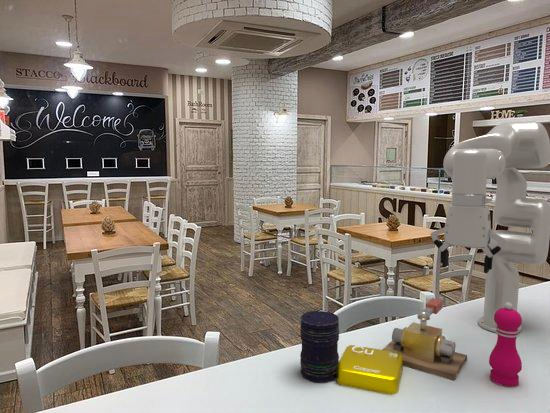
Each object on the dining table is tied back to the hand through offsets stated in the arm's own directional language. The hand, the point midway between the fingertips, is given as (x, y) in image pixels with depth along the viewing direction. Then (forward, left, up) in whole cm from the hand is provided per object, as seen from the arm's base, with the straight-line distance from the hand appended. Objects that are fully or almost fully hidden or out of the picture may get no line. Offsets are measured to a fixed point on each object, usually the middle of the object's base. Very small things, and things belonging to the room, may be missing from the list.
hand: (465, 269), depth 107 cm
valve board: (-2, -10, -28) cm, 30 cm away
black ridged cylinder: (+21, -29, -28) cm, 46 cm away
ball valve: (-2, -10, -26) cm, 28 cm away
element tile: (+14, -19, -28) cm, 37 cm away
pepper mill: (-3, +10, -28) cm, 30 cm away
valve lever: (-7, -10, -16) cm, 21 cm away
